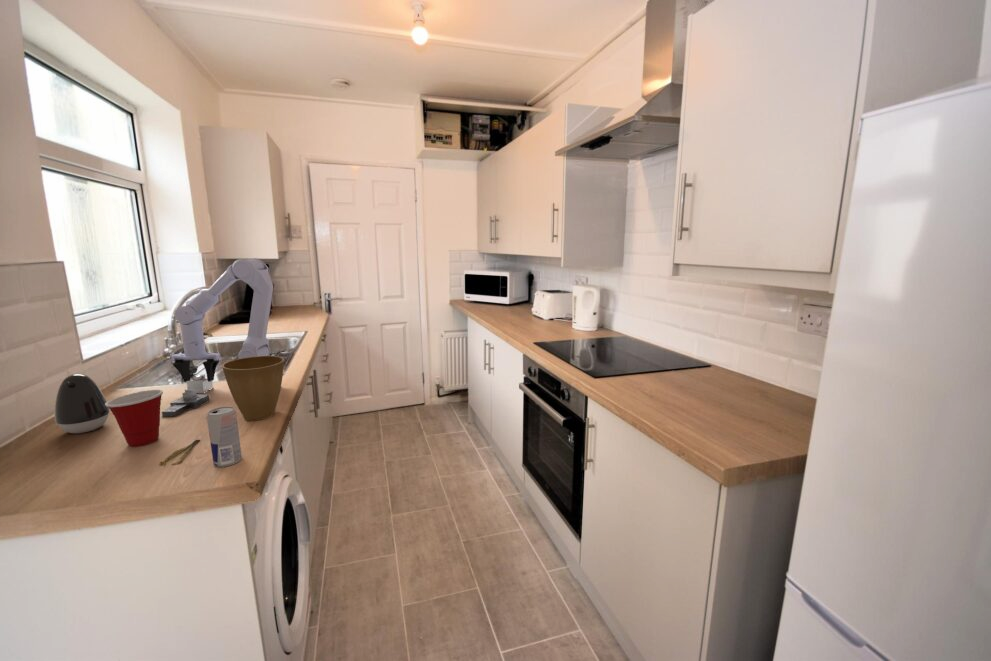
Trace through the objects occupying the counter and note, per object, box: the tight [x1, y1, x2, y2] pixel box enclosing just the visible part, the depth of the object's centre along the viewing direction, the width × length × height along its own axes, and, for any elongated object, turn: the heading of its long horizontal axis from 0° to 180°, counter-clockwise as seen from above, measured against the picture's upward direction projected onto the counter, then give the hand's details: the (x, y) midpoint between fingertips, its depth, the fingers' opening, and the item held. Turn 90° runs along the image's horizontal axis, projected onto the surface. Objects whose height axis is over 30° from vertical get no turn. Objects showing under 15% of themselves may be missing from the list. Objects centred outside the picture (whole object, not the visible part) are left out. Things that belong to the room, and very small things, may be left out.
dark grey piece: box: [161, 388, 211, 418], centre depth 124 cm, size 7×13×5 cm, turn 4°
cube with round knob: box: [185, 373, 214, 394], centre depth 139 cm, size 5×5×6 cm
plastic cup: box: [105, 389, 164, 448], centre depth 101 cm, size 11×11×12 cm
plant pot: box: [222, 355, 285, 422], centre depth 116 cm, size 15×15×16 cm
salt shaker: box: [181, 348, 199, 380], centre depth 155 cm, size 6×6×12 cm
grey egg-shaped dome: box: [54, 373, 111, 434], centre depth 108 cm, size 10×10×15 cm
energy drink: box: [206, 405, 243, 468], centre depth 91 cm, size 5×5×12 cm
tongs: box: [158, 439, 200, 467], centre depth 96 cm, size 4×13×2 cm, turn 14°
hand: (199, 381), depth 139 cm, fingers open, 7 cm apart
